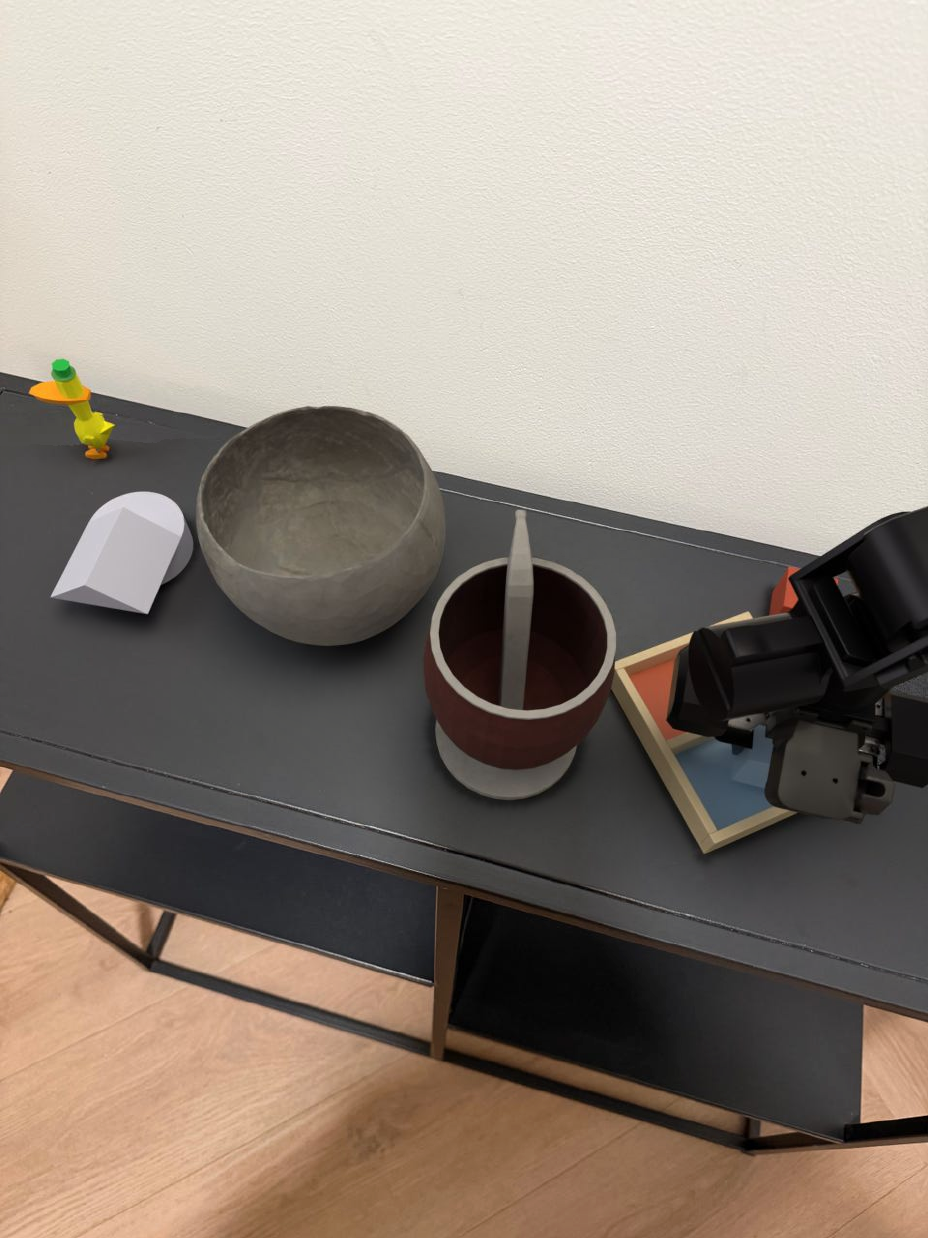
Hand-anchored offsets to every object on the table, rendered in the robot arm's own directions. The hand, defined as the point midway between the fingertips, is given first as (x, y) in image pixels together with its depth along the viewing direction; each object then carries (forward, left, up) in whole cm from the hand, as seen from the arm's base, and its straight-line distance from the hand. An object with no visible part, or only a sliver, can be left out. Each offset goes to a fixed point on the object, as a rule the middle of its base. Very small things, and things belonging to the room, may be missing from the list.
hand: (764, 756), depth 67 cm
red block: (-12, -12, -4) cm, 17 cm away
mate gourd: (+17, -12, -4) cm, 21 cm away
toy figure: (+44, -56, -4) cm, 71 cm away
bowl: (+26, -31, -4) cm, 41 cm away
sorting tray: (0, -4, -4) cm, 6 cm away
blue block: (0, 0, -1) cm, 1 cm away
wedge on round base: (+43, -40, -4) cm, 59 cm away
